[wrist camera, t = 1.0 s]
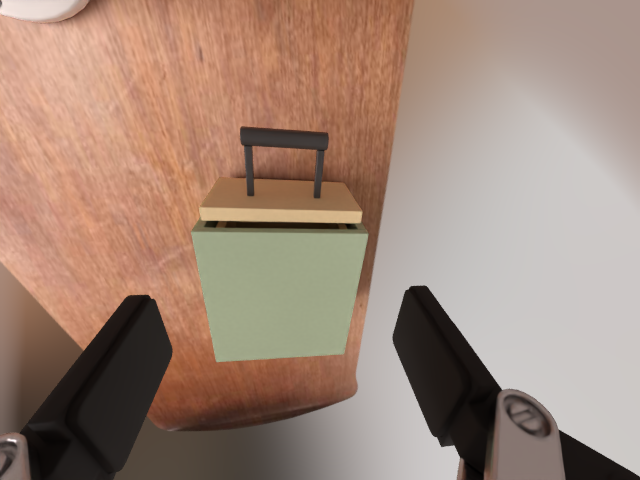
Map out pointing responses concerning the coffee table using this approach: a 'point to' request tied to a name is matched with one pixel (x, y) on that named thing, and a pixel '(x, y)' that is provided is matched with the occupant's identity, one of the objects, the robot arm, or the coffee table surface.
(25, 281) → the coffee table surface
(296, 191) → the drawer
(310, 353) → the cabinet
